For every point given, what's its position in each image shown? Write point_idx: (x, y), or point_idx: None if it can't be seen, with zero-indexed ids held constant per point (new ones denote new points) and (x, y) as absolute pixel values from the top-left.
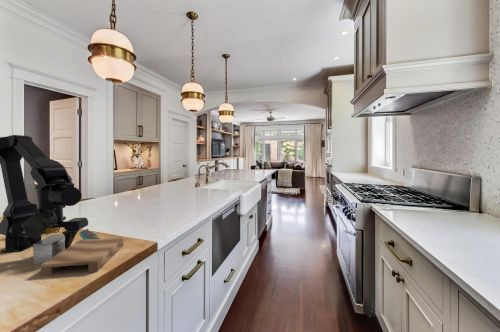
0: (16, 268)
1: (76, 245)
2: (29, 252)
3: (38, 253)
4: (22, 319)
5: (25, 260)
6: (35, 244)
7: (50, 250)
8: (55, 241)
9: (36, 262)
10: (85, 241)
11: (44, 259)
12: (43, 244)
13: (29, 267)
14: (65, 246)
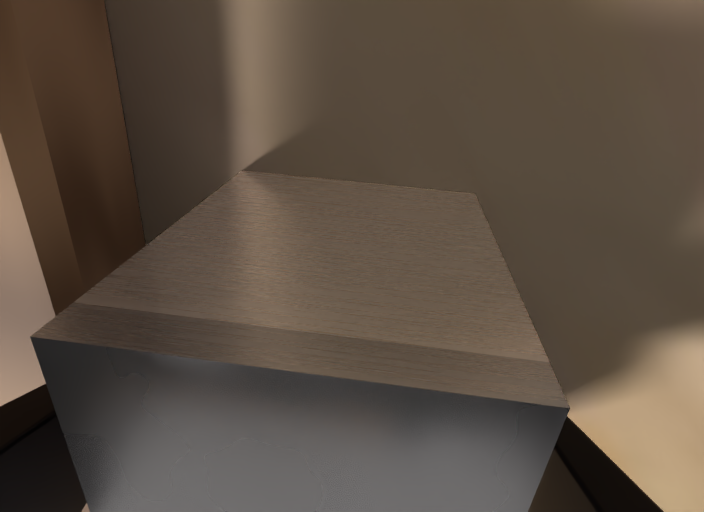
0: (644, 56)
1: None
2: (672, 504)
3: (412, 249)
4: None
5: (628, 310)
6: (491, 388)
7: (182, 246)
8: (70, 447)
9: (440, 193)
10: None
11: (329, 194)
12: (268, 353)
13: (460, 50)
14: None
